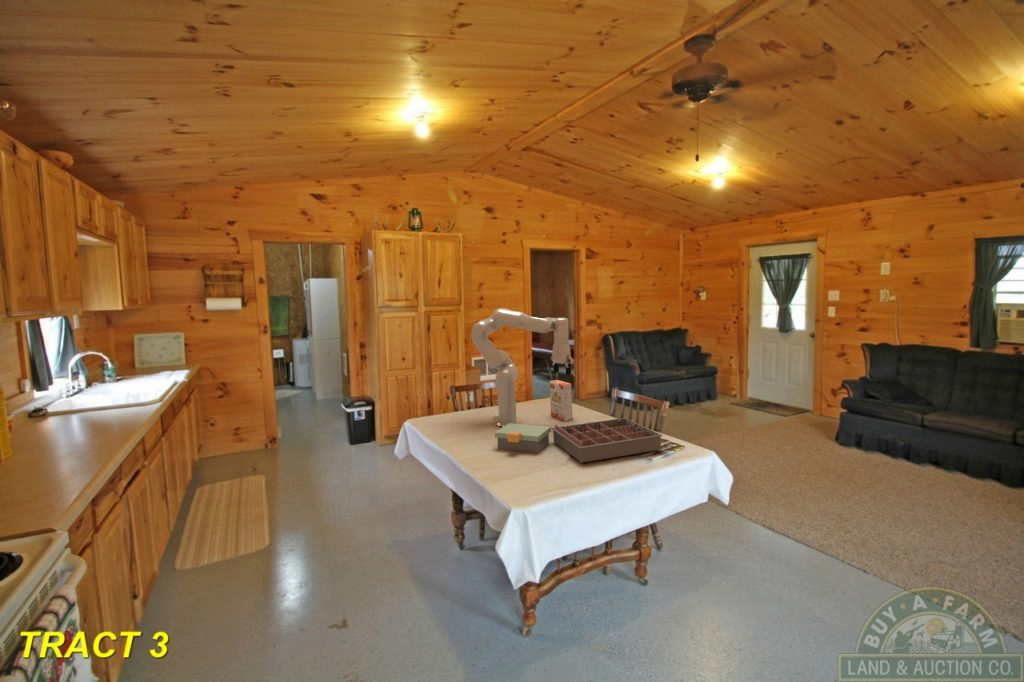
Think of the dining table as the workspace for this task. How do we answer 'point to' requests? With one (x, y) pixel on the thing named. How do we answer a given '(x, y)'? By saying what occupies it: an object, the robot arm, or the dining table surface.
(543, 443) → the tub
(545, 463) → the dining table surface
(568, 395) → the cracker box
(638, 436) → the organizer tray
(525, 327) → the robot arm
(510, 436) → the lid
